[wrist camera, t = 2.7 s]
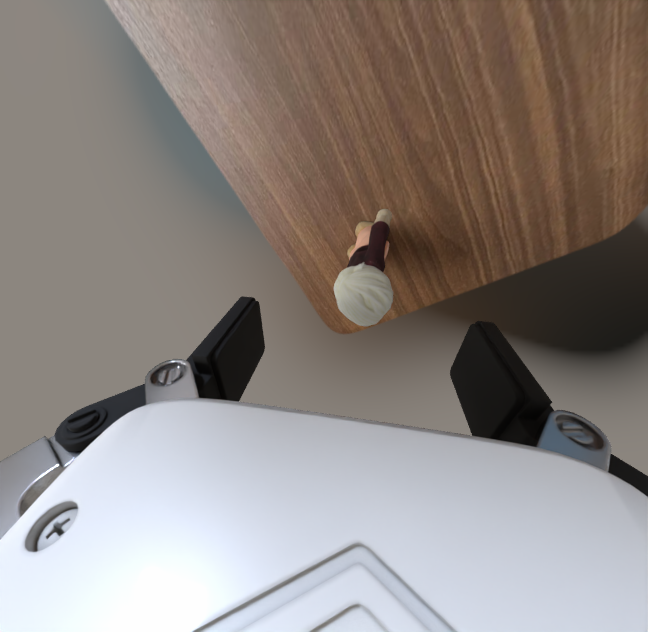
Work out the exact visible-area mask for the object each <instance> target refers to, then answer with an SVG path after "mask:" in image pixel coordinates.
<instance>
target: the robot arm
mask: <svg viewBox="0 0 648 632" xmlns="http://www.w3.org/2000/svg"><path fill="white" fill-rule="evenodd" d="M264 349H265V344H264V336H263V329H262V321H261V313H260V306H259V302H258V301H255V298H252V297H240V298H239V300H238V301H237V302H236V303H235V304H234V306H233V307H232V308H231V309H230V310H229V311H228V312H227V314H226V315H225V316H224V317H223V318H222V319H221V321H220V322H219V323H218V324H217V325H216V326H215V327H214V329H213V330H212V331H211V332H210V333H209V334H208V336H207V337H206V338H205V339H204V340H203V341H202V343H201V344H200V345H199V346H198V347H197V348H196V350H195V351H194V352H193V353H192V354H191V355H190V356H189V358H188V359H187V360H182V359H173V360H169V361H165V362H163V363H160V364H159V365H157V366H155V367H154V368H153V369H152V370H151V371H149V373H148V374H147V376H146V379H145V384H143V385H141V386H138V387H135V388H133V389H130V390H128V391H125V392H122V393H120V394H117V395H115V396H112V397H109V398H107V399H104V400H102V401H99V402H97V403H94V404H92V405H89V406H86V407H84V408H82V409H80V410H78V411H76V412H74V413H73V414H71V415H70V416H69V417H67V418H66V419H65V420H64V421H63V422H62V423H61V424H60V426H59V427H58V428H57V430H56V433H55V435H54V436H53V437H51V438H49V439H48V438H47V437H46V436H44V437H42V438H41V439H39V440H37V441H35V442H34V443H32V444H30V445H28V446H27V447H25V448H23V449H21V450H20V451H18V452H16V453H14V454H12V455H11V456H9V457H7V458H6V459H4V460H2V461H0V632H648V476H647V475H645V474H643V473H642V472H640V471H638V470H637V469H635V468H634V467H632V466H630V465H629V464H627V463H625V462H624V461H622V460H620V459H619V458H617V457H616V456H614V455H612V454H611V444H610V442H609V440H608V439H607V436H606V435H605V434H604V433H603V432H602V431H601V430H600V429H599V428H598V427H597V426H595V425H594V424H592V423H591V422H590V421H588V420H586V419H585V418H583V417H581V416H579V415H577V414H575V413H572V412H568V411H564V410H556V411H554V410H553V408H552V407H551V406H550V404H551V403H552V401H551V400H550V399H549V397H548V396H547V394H546V393H545V392H544V390H543V389H542V388H541V386H540V385H539V384H538V382H537V381H536V380H535V378H534V377H533V375H532V374H531V373H530V371H529V370H528V369H527V367H526V366H525V364H524V363H523V362H522V360H521V359H520V358H519V356H518V355H517V354H516V352H515V351H514V350H513V348H512V347H511V345H510V344H509V343H508V341H507V340H506V339H505V338H504V336H503V335H502V333H501V332H500V330H499V329H498V328H497V326H496V325H495V324H494V323H492V322H482V321H477V322H476V323H475V324H472V325H471V326H470V327H469V329H468V332H467V334H466V336H465V339H464V341H463V343H462V345H461V347H460V349H459V352H458V354H457V356H456V358H455V361H454V363H453V365H452V367H451V370H450V376H451V379H452V382H453V384H454V387H455V390H456V393H457V395H458V398H459V401H460V403H461V406H462V409H463V412H464V414H465V417H466V420H467V422H468V425H469V428H470V430H471V433H472V436H470V435H464V434H458V433H450V432H445V431H438V430H431V429H425V428H418V427H412V426H404V425H399V424H392V423H385V422H378V421H372V420H365V419H358V418H352V417H345V416H338V415H331V414H324V413H317V412H310V411H303V410H296V409H289V408H282V407H275V406H268V405H261V404H253V403H245V402H239V400H240V398H241V396H242V394H243V392H244V390H245V388H246V386H247V384H248V382H249V381H250V379H251V377H252V374H253V373H254V371H255V369H256V367H257V365H258V363H259V361H260V359H261V357H262V355H263V353H264Z"/></svg>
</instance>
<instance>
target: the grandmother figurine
mask: <svg viewBox="0 0 648 632" xmlns="http://www.w3.org/2000/svg"><path fill="white" fill-rule="evenodd" d="M391 219H392V213H391V212H390V211H389V210H388V209H382V210H380V211H379V212H378V214H377V217H376V220H375V222H374V223H373V222H365V221H363V222H360V223H359V224H358V225H357V227H356V230H355V234H356V236H357V242H356V244H354V245H352V246H351V247H350V248H349V249H348V252H347V254H348V257H349V264H348V266H347V268H346V269H344V270H343V271H341V272H340V274H339V276H338V278H337V280H336V282H335V285H334V293H335V297H336V299H337V304H338V308H339V310H340V311H341V312H342V313H343V314H344V315H345V316H346V317H347V318H348V319H350V320H351V321H353V322H354V323H356V324H358V325H361V326H370V325H374V324H376V323H377V322H379V321H380V319H381V318H382V317H383V316H384V314H385V313H386V312H387V311H388V310H389V309H390V307H391V304H392V301H393V291H392V289H391V285H390V280H389V278H388V277H387V276H386V275H385V274H384V273H383V271H384V268H385V262H384V260H385V258H386V256H387V254H388V250H389V242H388V241H386V240H387V237H388V234H389V230H390V228H389V227H390V221H391Z"/></svg>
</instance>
